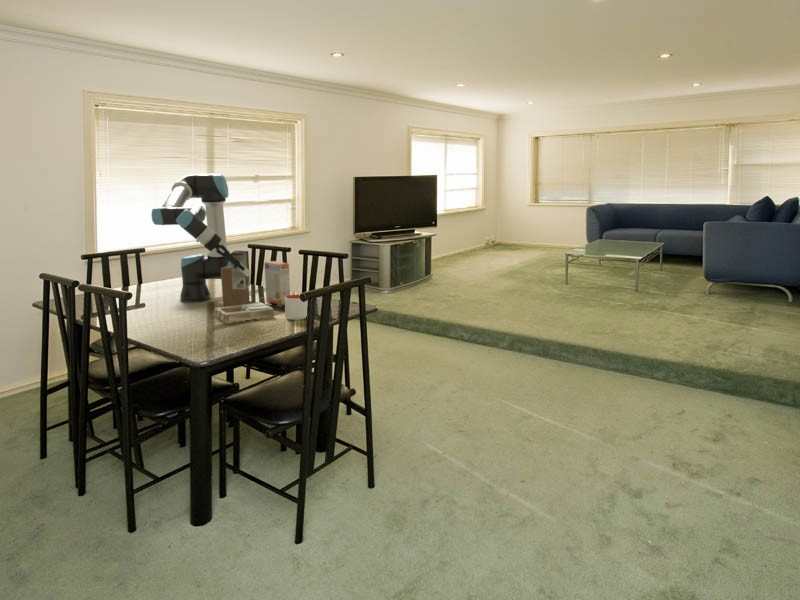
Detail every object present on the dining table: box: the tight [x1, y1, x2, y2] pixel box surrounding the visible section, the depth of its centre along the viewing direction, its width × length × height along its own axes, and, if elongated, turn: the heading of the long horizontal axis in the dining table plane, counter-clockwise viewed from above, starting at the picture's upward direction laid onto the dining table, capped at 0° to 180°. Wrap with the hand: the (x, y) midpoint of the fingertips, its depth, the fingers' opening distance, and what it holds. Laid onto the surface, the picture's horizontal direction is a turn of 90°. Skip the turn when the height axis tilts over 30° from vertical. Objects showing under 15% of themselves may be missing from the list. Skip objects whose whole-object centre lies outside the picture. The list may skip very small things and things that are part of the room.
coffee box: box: [230, 250, 251, 289], centre depth 262 cm, size 9×6×16 cm
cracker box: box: [264, 260, 291, 306], centre depth 295 cm, size 14×6×21 cm, turn 45°
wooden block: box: [220, 265, 251, 307], centre depth 289 cm, size 10×10×20 cm
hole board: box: [214, 301, 275, 324], centre depth 268 cm, size 17×22×4 cm
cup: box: [284, 293, 308, 321], centre depth 264 cm, size 10×10×10 cm
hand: (247, 272), depth 264 cm, fingers closed on coffee box, 10 cm apart
